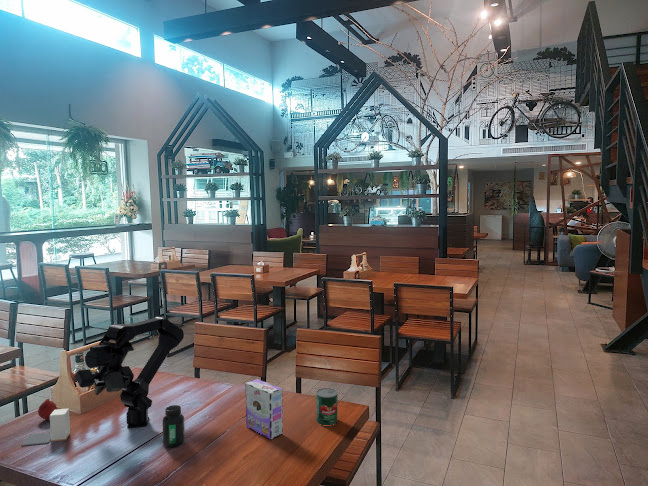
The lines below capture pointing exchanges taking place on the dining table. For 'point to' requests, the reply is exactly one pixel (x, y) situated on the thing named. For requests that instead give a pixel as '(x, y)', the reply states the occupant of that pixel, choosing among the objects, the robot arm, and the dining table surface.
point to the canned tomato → (326, 406)
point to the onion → (46, 409)
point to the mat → (37, 439)
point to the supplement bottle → (173, 427)
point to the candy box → (264, 408)
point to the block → (59, 424)
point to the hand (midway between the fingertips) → (96, 394)
